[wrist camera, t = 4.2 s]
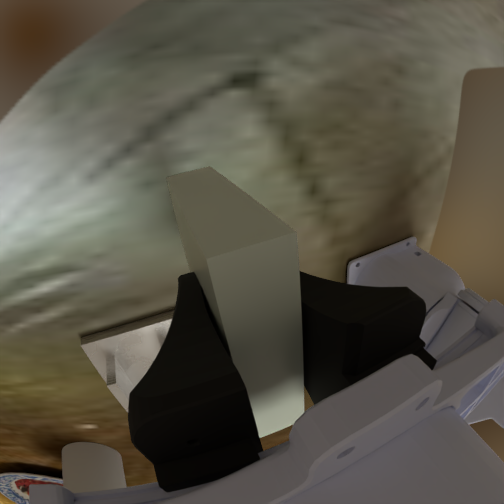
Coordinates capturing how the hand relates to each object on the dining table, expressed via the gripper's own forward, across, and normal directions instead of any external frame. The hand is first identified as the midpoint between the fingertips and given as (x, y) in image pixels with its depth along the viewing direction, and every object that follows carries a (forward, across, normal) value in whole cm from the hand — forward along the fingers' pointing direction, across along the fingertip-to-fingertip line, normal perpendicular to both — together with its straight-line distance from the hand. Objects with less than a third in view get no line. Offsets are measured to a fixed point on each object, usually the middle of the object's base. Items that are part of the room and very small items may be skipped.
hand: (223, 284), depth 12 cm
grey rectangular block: (+3, 0, 0) cm, 3 cm away
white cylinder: (+10, +21, +26) cm, 35 cm away
